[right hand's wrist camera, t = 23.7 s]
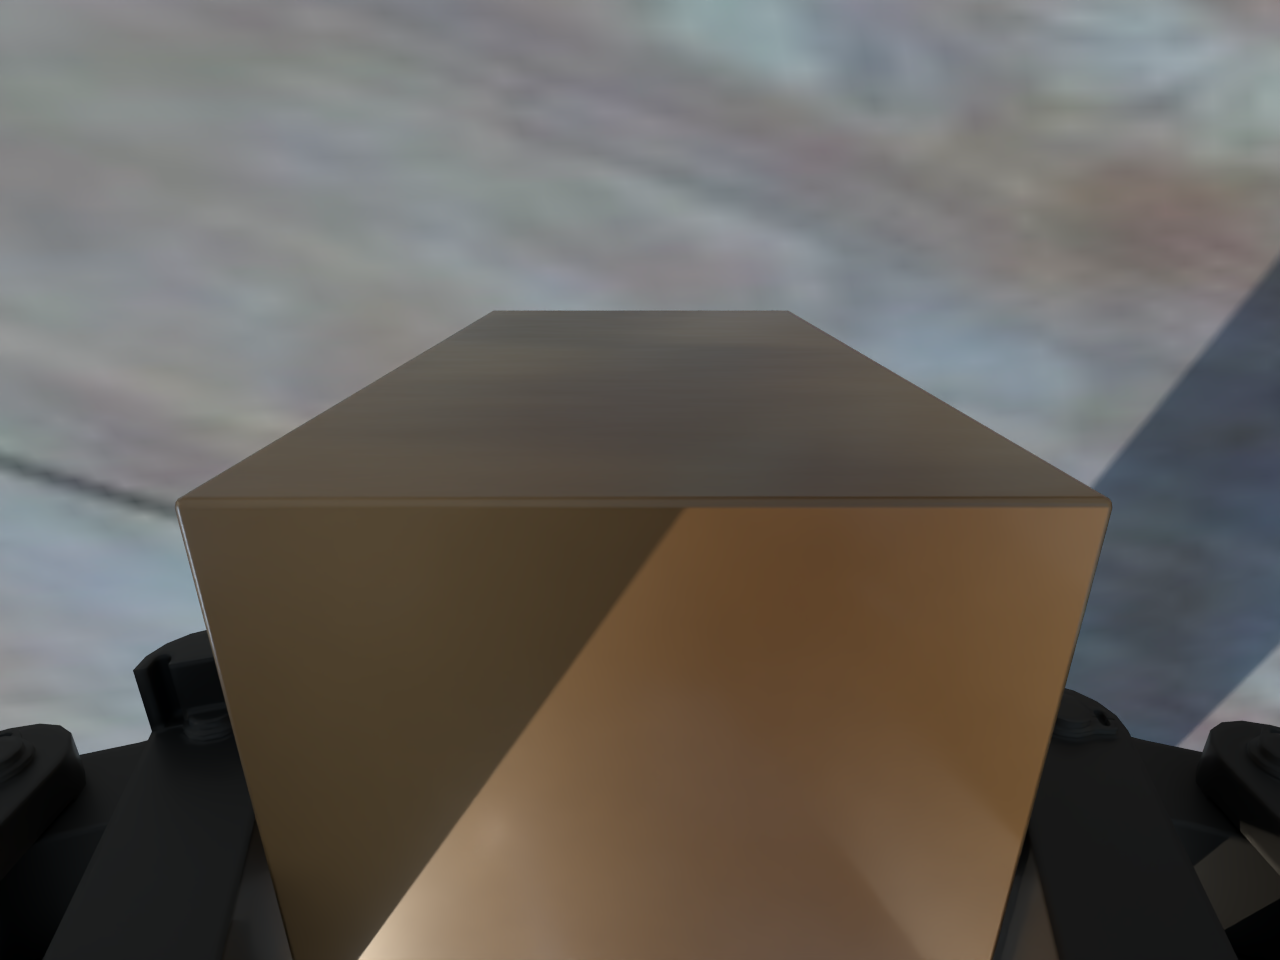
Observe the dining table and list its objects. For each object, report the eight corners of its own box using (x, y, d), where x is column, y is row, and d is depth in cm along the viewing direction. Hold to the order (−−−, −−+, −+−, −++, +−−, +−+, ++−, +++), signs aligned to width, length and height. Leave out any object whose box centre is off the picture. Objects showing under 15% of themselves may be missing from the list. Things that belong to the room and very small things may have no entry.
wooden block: (518, 665, 18) (361, 1234, 8) (491, 310, 14) (166, 499, 5) (763, 665, 18) (923, 1235, 8) (790, 310, 14) (1120, 499, 5)
